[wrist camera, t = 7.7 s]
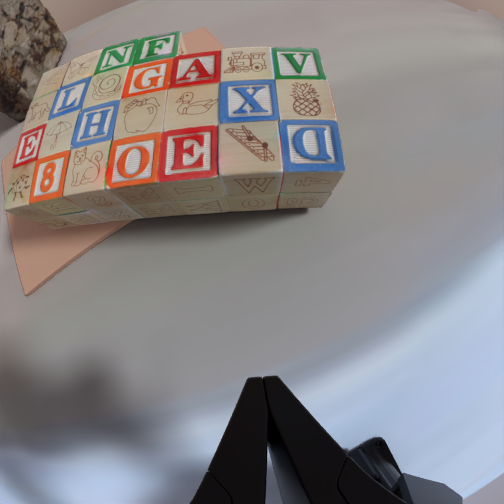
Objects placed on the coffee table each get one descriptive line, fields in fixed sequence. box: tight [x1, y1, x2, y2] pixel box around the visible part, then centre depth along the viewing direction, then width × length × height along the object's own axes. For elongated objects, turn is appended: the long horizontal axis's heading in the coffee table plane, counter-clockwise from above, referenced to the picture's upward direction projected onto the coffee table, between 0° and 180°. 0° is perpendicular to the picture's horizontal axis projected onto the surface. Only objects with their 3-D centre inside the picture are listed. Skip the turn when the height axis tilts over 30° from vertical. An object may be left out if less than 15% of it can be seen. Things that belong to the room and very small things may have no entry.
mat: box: [2, 27, 226, 295], centre depth 21 cm, size 16×26×1 cm, turn 120°
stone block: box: [0, 0, 67, 122], centre depth 14 cm, size 13×7×20 cm, turn 10°
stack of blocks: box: [4, 31, 345, 229], centre depth 17 cm, size 21×6×12 cm
